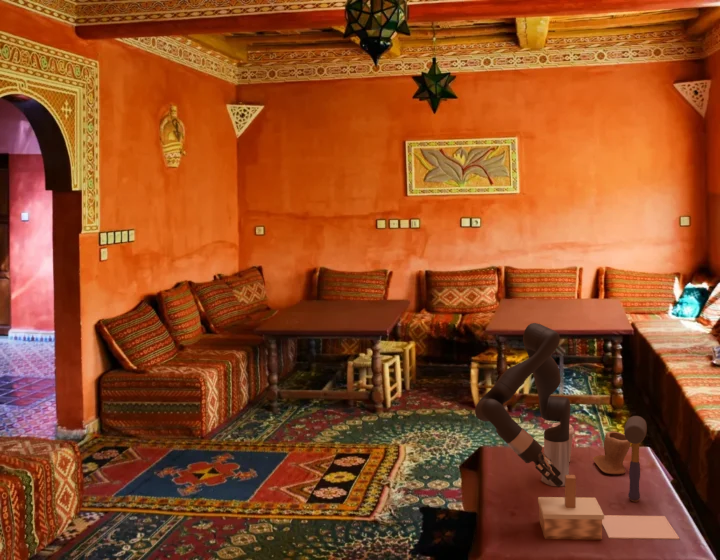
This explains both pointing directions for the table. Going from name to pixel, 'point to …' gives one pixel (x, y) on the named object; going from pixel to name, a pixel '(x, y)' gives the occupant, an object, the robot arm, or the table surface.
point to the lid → (570, 504)
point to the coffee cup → (569, 436)
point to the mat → (638, 527)
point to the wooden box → (571, 528)
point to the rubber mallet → (635, 452)
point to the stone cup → (613, 453)
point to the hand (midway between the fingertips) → (559, 480)
